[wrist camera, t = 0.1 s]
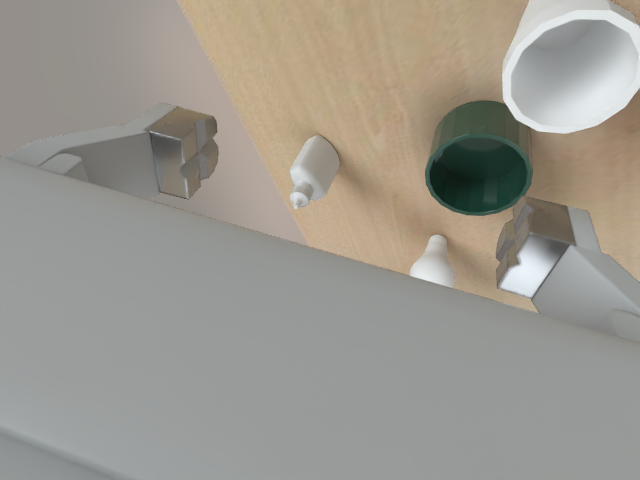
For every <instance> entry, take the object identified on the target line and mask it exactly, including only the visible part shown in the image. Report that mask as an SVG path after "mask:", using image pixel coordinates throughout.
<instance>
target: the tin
mask: <svg viewBox="0 0 640 480" xmlns="http://www.w3.org/2000/svg"><path fill="white" fill-rule="evenodd" d="M532 173H533V166H532V144H531V135H530V130H529V127H528V126H527V125H525V124H523V123H521V122H520V121H518V120H516V119H515V117H514V116H513V114H512V113H511V111H510V110H509V108H508V106H507V105H505V104H502V103H499V102H494V101H475V102H470V103H467V104H464V105H461V106H459V107H457V108H455V109H454V110H452V111H451V112H449V113H448V114H447V115H446V116H445V117H444V118H443V119H442V120H441V121H440V123H439V124H438V126H437V128H436V130H435V133H434V136H433V139H432V143H431V148H430V152H429V156H428V161H427V165H426V169H425V179H426V185H427V187H428V189H429V191H430V193H431V195H432V196H433V197H434V198H435V199H436V200H437V201H438V202H439V203H440V204H441V205H442V206H444V207H446V208H448V209H450V210H451V211H454V212H457V213H461V214H465V215H477V216H484V215H489V214H494V213H499V212H501V211H503V210H505V209H508V208H510V207H512V206H513V205H515V204H516V203H517V201H518V200H519V199H520V197H521V196H524V195H525V194H526V192H527V190H528V189H529V187H530V185H531V180H532Z"/></svg>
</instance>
